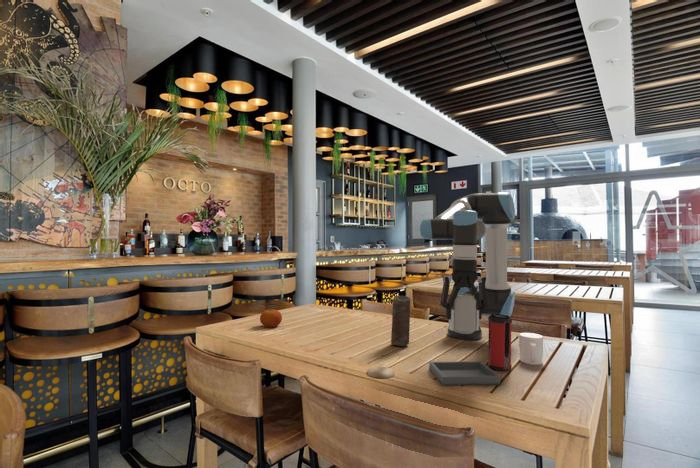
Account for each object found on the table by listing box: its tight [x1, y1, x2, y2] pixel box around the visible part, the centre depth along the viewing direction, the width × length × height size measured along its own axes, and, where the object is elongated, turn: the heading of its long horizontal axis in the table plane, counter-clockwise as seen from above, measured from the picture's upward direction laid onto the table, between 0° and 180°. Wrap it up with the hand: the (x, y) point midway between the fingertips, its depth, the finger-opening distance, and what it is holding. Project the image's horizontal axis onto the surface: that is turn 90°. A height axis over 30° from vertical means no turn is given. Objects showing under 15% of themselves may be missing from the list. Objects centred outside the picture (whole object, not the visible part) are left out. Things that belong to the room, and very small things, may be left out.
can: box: [452, 293, 476, 334], centre depth 121 cm, size 8×8×12 cm
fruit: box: [259, 309, 283, 328], centre depth 184 cm, size 11×10×8 cm
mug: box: [518, 332, 544, 366], centre depth 138 cm, size 12×9×8 cm
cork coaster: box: [366, 366, 396, 379], centre depth 123 cm, size 9×9×1 cm
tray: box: [428, 360, 501, 387], centre depth 121 cm, size 18×14×3 cm
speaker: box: [486, 314, 513, 372], centre depth 130 cm, size 8×8×18 cm
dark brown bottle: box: [390, 295, 412, 347], centre depth 155 cm, size 8×7×20 cm
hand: (463, 329), depth 121 cm, fingers closed on can, 7 cm apart
